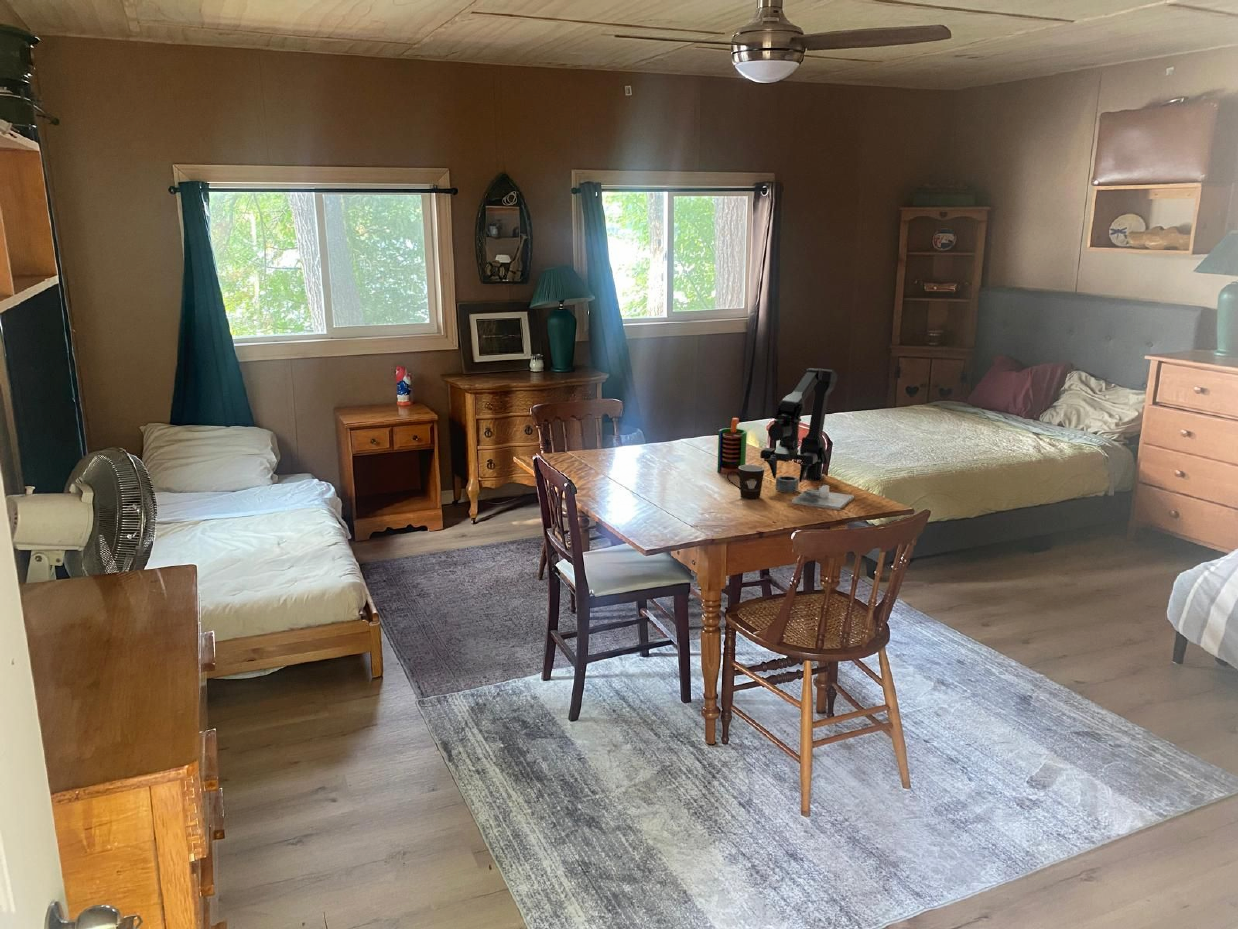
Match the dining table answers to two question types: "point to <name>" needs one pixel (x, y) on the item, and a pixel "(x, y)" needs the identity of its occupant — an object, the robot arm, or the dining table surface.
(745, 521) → the dining table surface
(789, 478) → the octagonal hollow lampshade
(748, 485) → the coffee mug
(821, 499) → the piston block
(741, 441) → the motor
